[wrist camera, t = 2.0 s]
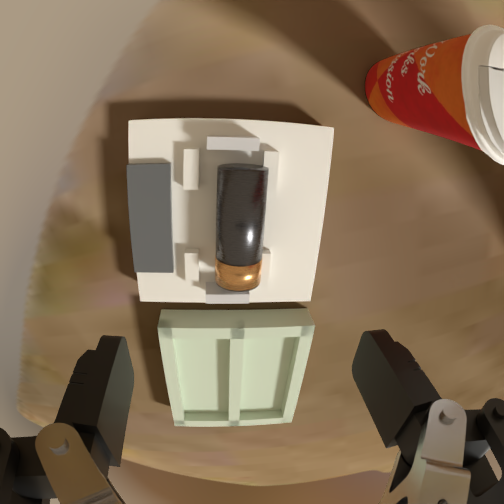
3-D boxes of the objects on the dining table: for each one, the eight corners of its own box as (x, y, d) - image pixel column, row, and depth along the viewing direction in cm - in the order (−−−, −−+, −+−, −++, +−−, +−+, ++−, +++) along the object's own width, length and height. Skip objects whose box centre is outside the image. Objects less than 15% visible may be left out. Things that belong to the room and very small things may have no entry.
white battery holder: (322, 125, 23) (343, 129, 19) (302, 285, 28) (316, 313, 25) (137, 119, 21) (121, 121, 17) (145, 285, 27) (136, 314, 23)
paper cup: (398, 34, 19) (524, 8, 7) (440, 107, 22) (566, 130, 10) (332, 75, 21) (453, 53, 8) (383, 152, 24) (509, 202, 11)
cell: (251, 162, 21) (279, 170, 19) (245, 273, 25) (268, 292, 22) (208, 164, 20) (232, 173, 17) (207, 281, 23) (227, 304, 21)
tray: (307, 308, 30) (315, 325, 27) (287, 405, 36) (291, 422, 33) (161, 309, 28) (157, 327, 25) (176, 408, 34) (174, 425, 32)
